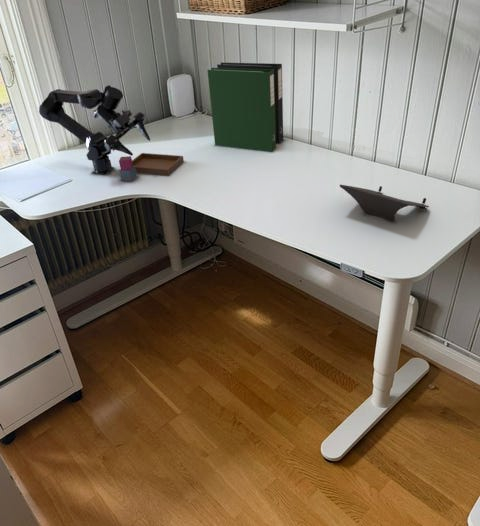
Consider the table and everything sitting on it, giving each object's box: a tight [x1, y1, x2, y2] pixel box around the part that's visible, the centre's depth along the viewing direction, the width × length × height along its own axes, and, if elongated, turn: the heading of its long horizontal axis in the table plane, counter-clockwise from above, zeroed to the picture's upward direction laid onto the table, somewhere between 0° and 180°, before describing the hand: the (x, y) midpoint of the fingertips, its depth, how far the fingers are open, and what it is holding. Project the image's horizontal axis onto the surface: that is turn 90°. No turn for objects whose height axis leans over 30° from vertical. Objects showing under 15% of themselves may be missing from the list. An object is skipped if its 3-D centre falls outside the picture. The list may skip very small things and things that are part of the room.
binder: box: [206, 62, 284, 153], centre depth 206 cm, size 27×15×32 cm, turn 66°
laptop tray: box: [339, 184, 430, 223], centre depth 154 cm, size 23×23×9 cm
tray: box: [132, 152, 185, 177], centre depth 199 cm, size 19×14×3 cm
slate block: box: [118, 166, 138, 182], centre depth 191 cm, size 4×4×4 cm
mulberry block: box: [118, 155, 133, 170], centre depth 188 cm, size 4×4×4 cm
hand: (141, 147), depth 183 cm, fingers open, 9 cm apart
